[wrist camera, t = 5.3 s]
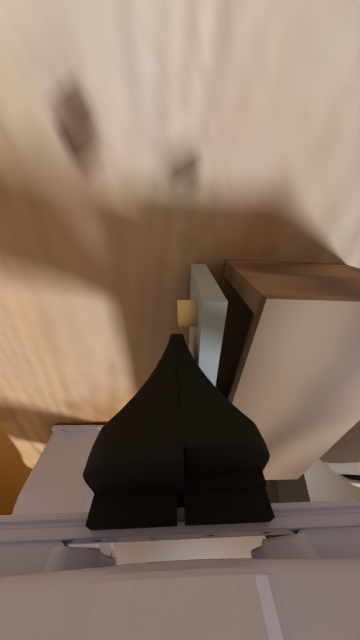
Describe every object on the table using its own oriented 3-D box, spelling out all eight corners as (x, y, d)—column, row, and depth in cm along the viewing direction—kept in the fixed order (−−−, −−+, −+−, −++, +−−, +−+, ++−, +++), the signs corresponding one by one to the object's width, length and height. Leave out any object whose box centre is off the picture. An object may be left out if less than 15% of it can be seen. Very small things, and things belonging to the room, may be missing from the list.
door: (178, 415, 22) (180, 478, 16) (176, 264, 12) (177, 302, 7) (195, 414, 22) (201, 477, 17) (205, 263, 12) (228, 301, 7)
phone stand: (268, 439, 26) (328, 583, 16) (296, 447, 28) (366, 582, 18) (231, 462, 30) (260, 589, 20) (257, 468, 32) (297, 588, 22)
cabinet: (198, 414, 22) (206, 480, 17) (225, 259, 12) (266, 298, 7) (267, 414, 23) (297, 479, 17) (347, 264, 13) (479, 305, 7)
